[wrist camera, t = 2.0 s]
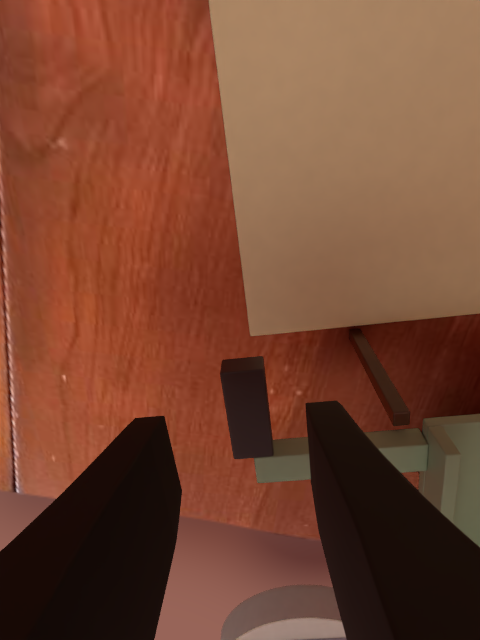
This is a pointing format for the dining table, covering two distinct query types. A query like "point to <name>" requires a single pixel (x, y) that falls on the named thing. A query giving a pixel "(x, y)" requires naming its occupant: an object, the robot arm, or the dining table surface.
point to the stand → (380, 380)
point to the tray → (396, 445)
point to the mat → (352, 158)
